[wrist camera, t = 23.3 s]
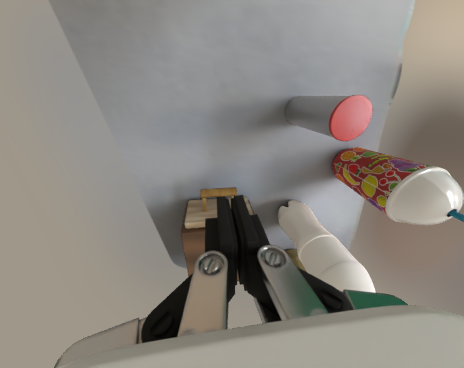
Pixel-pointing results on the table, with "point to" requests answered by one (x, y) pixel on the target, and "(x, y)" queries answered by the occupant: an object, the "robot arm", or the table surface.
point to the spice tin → (331, 115)
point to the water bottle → (322, 250)
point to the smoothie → (400, 186)
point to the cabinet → (194, 244)
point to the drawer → (208, 206)
